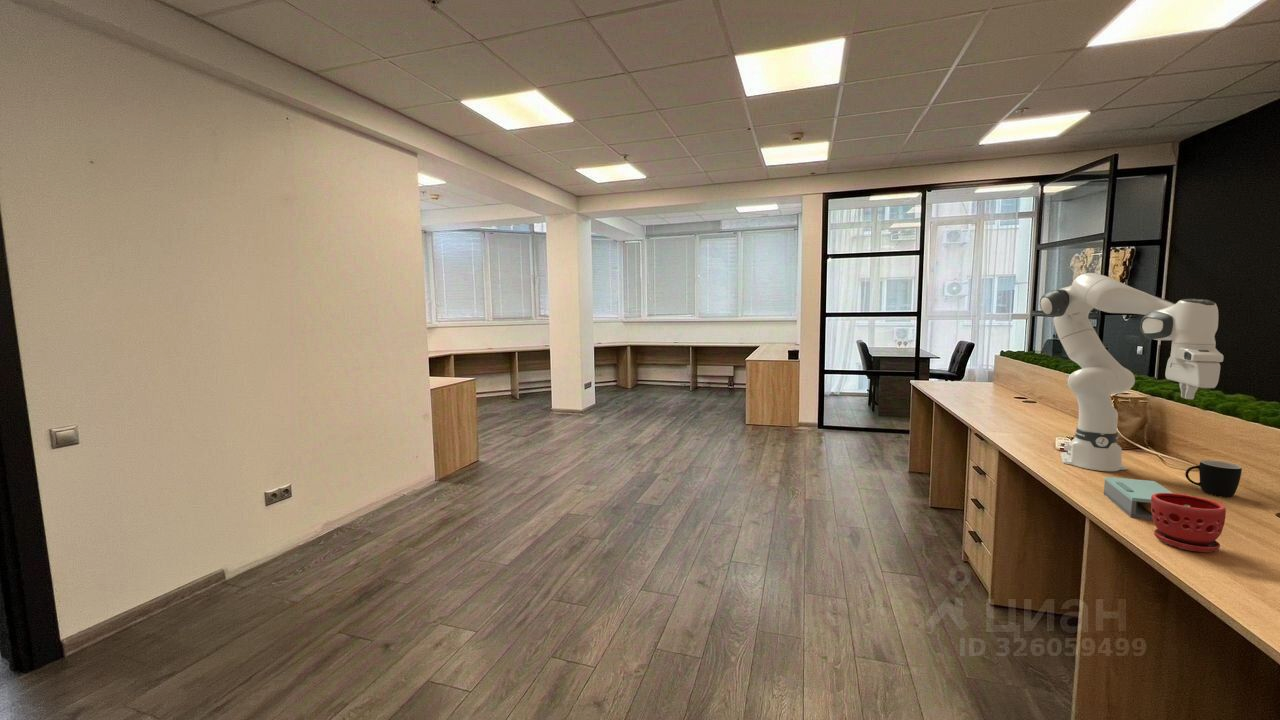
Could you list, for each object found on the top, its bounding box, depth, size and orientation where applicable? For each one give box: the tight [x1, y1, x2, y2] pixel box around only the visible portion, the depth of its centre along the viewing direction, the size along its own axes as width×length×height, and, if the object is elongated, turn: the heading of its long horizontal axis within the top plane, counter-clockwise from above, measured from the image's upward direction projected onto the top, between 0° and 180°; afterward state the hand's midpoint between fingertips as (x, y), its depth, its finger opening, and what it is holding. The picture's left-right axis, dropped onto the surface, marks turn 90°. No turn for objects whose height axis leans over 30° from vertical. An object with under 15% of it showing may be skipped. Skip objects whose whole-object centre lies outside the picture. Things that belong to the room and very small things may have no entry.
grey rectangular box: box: [1103, 479, 1153, 521], centre depth 153 cm, size 20×12×5 cm, turn 154°
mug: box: [1184, 459, 1243, 498], centre depth 164 cm, size 12×9×10 cm
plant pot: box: [1151, 492, 1227, 553], centre depth 129 cm, size 13×13×12 cm
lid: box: [1104, 476, 1190, 507], centre depth 152 cm, size 20×12×1 cm, turn 154°
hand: (1187, 398), depth 150 cm, fingers closed
